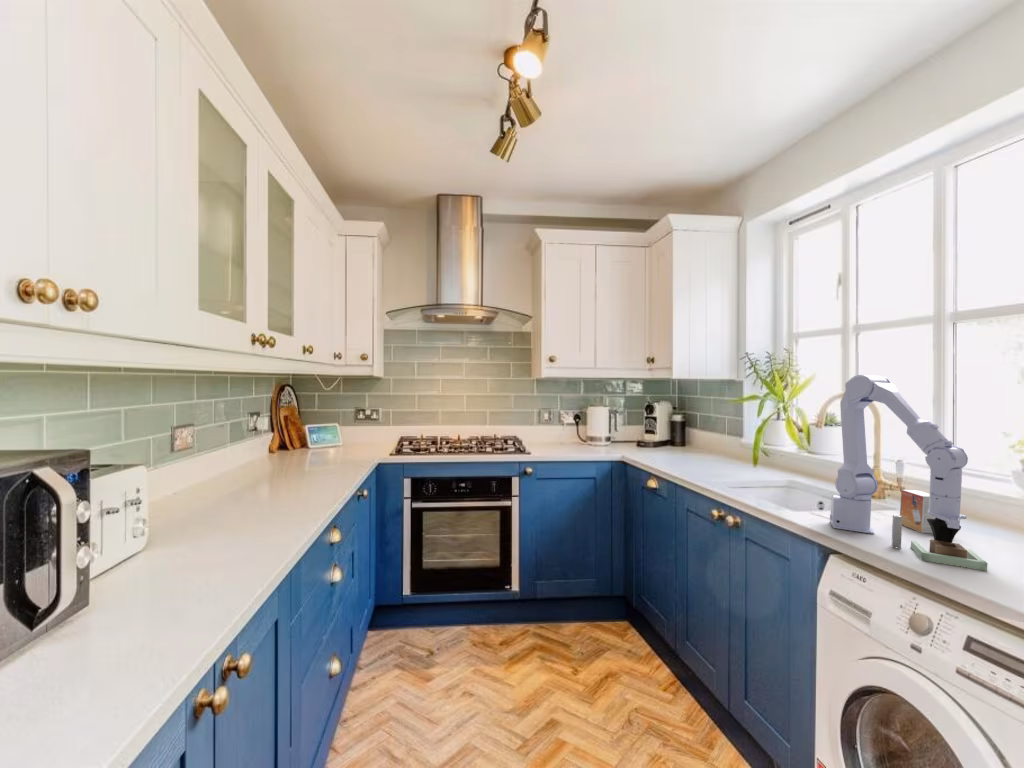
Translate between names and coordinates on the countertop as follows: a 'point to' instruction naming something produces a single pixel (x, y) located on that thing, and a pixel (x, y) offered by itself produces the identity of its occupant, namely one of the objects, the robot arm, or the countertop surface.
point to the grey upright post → (896, 531)
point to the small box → (915, 510)
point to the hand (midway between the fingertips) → (942, 550)
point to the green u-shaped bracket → (951, 558)
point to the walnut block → (947, 548)
